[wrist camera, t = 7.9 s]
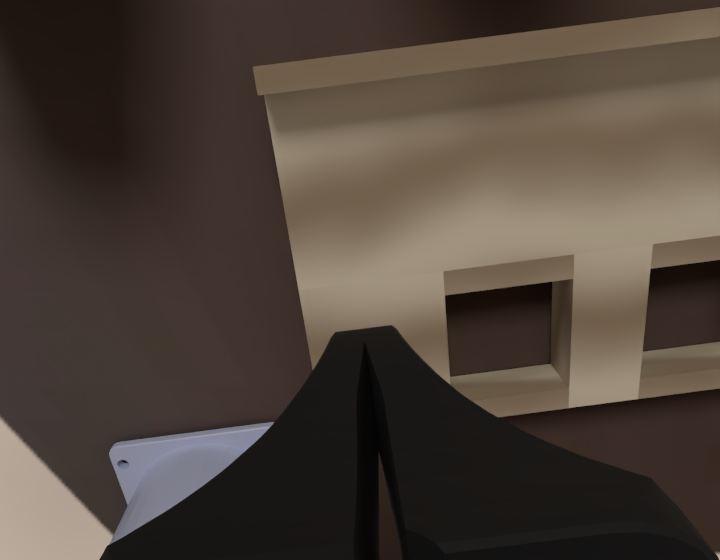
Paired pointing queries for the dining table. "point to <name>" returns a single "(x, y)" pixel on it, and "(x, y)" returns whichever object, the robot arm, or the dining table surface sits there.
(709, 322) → the dining table surface
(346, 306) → the tray
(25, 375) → the dining table surface
